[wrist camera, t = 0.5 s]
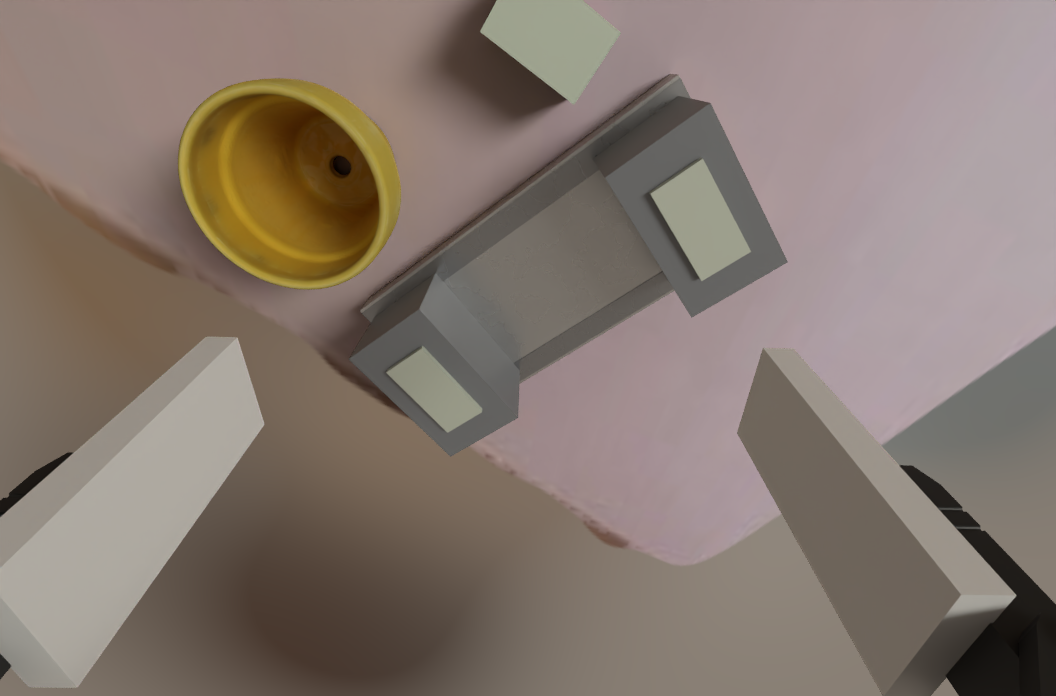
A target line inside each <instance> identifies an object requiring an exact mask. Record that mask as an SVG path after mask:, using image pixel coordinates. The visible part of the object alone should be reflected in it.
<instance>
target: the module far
mask: <svg viewBox="0 0 1056 696" xmlns="http://www.w3.org/2000/svg"><path fill="white" fill-rule="evenodd" d="M349 360H350V361H351V362H352V363H353V364H354V365H355V366H356V367H357V368H358V369H359V370H360V371H361V372H362V373H363V374H365V375H366V376H367V377H368V378H369V379H370V380H371V381H372V382H373V383H374V384H375V385H376V386H377V387H378V388H379V389H380V390H381V391H382V392H383V393H384V394H385V395H387V396H388V397H389V398H390V399H391V400H392V401H393V402H394V403H395V404H396V405H397V406H398V407H399V408H400V409H401V410H402V411H403V412H404V413H405V414H406V415H407V416H409V417H410V418H411V419H412V420H413V421H414V422H415V423H416V424H417V425H418V426H419V427H420V428H421V429H422V430H423V431H424V432H425V433H426V434H427V435H429V437H431V438H432V439H433V440H434V441H435V442H436V443H437V444H438V445H439V446H440V447H441V448H442V449H443V450H444V451H445V452H446V453H447V454H448V455H450V456H452V455H454V454H456V453H458V452H459V451H461V450H463V449H464V448H466V447H468V446H470V445H471V444H473V443H475V442H477V441H478V440H480V439H482V438H484V437H485V436H487V435H489V434H491V433H492V432H494V431H496V430H497V429H499V428H501V427H503V426H504V425H506V424H508V423H510V422H511V421H513V420H515V419H517V418H518V405H519V379H520V370H519V369H518V368H517V367H516V366H515V365H514V363H513V362H512V361H511V360H510V358H509V357H508V356H507V355H506V354H505V353H504V351H503V350H502V349H501V348H500V347H499V346H498V344H497V343H496V342H495V341H494V340H493V339H492V337H491V336H490V335H489V334H488V333H487V332H486V330H485V329H484V328H483V327H482V326H481V325H480V324H479V322H478V321H477V320H476V319H475V318H474V317H473V315H472V314H471V313H470V312H469V311H468V310H467V308H466V307H465V306H464V305H463V304H462V303H461V301H460V300H459V299H458V298H457V297H456V296H455V294H454V293H453V292H452V291H451V290H450V289H449V287H448V286H447V285H446V284H445V283H444V282H443V281H442V280H441V279H440V278H439V276H438V275H437V274H436V273H435V274H434V275H432V276H431V277H429V278H428V279H427V280H425V281H424V282H423V283H421V284H420V285H418V286H417V287H416V288H414V289H413V290H412V291H410V292H409V293H407V294H406V295H405V296H403V297H402V298H401V299H399V300H398V301H396V302H395V303H394V304H392V305H391V306H390V307H388V308H387V309H385V310H384V311H383V312H381V313H380V314H379V315H377V316H376V317H374V319H373V320H372V322H371V324H370V325H369V327H368V329H367V330H366V332H365V333H364V335H363V337H362V338H361V340H360V341H359V343H358V345H357V346H356V348H355V350H354V351H353V353H352V354H351V356H350V358H349Z"/></svg>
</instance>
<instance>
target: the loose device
mask: <svg viewBox="0 0 1056 696" xmlns="http://www.w3.org/2000/svg"><path fill="white" fill-rule="evenodd" d="M480 32H481V33H482V34H483V35H485V36H486V37H487V38H489V39H490V40H491V41H492V42H494V43H495V44H496V45H498V46H499V47H500V48H501V49H503V50H504V51H505V52H507V53H508V54H509V55H510V56H512V57H513V58H514V59H516V60H517V61H518V62H519V63H521V64H522V65H523V66H525V67H526V68H527V69H528V70H530V71H531V72H532V73H534V74H535V75H536V76H537V77H539V78H540V79H541V80H543V81H544V82H545V83H546V84H548V85H549V86H550V87H552V88H553V89H554V90H555V91H557V92H558V93H559V94H561V95H562V96H563V97H564V98H566V99H567V100H568V101H570V102H571V103H572V104H573V105H574V104H575V103H576V101H577V99H578V98H579V96H580V95H581V93H582V92H583V90H584V89H585V87H586V86H587V84H588V83H589V81H590V80H591V78H592V77H593V75H594V73H595V72H596V70H597V69H598V67H599V66H600V64H601V63H602V61H603V60H604V58H605V57H606V55H607V54H608V52H609V50H610V49H611V47H612V46H613V44H614V43H615V41H616V40H617V38H618V37H619V35H620V34H621V33H620V32H619V31H618V30H617V29H616V28H614V27H613V26H612V25H611V24H610V23H609V22H607V21H606V20H605V19H604V18H603V17H601V16H600V15H599V14H598V13H597V12H596V11H594V10H593V9H592V8H591V7H590V6H589V5H587V4H586V3H585V2H584V1H583V0H497V1H496V3H495V4H494V6H493V8H492V10H491V12H490V14H489V16H488V18H487V19H486V21H485V23H484V25H483V27H482V29H481V31H480Z"/></svg>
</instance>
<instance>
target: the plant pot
mask: <svg viewBox="0 0 1056 696" xmlns="http://www.w3.org/2000/svg"><path fill="white" fill-rule="evenodd" d="M337 156H342V157H344V158H346V159H347V160H348V161H349V163H350V165H351V171H350V173H349V174H347V175H341V174H339V173H337V172H336V171H335V169H334V167H333V161H334V159H335V157H337ZM178 173H179V179H180V185H181V189H182V192H183V195H184V198H185V201H186V203H187V205H188V208H189V210H190V212H191V214H192V216H193V218H194V219H195V221H196V223H197V224H198V226H199V227H200V229H201V230H202V232H203V233H204V234H205V236H206V237H207V238H208V239H209V241H210V242H211V243H212V244H213V245H214V246H215V247H216V248H217V249H218V250H219V251H220V252H221V253H222V254H223V255H224V256H225V257H227V258H228V259H229V260H230V261H231V262H233V263H234V264H235V265H237V266H238V267H240V268H241V269H243V270H244V271H246V272H248V273H249V274H251V275H253V276H255V277H257V278H259V279H262V280H264V281H266V282H269V283H272V284H275V285H279V286H283V287H288V288H294V289H322V288H328V287H332V286H335V285H338V284H341V283H343V282H345V281H348V280H350V279H351V278H353V277H355V276H357V275H358V274H359V273H361V272H362V271H363V270H364V269H365V268H366V267H367V266H369V264H370V263H371V262H372V261H373V260H374V259H375V257H376V256H377V255H378V254H379V252H380V251H381V250H382V248H383V247H384V245H385V244H386V242H387V240H388V239H389V237H390V235H391V233H392V231H393V229H394V227H395V225H396V222H397V218H398V215H399V210H400V203H401V186H400V179H399V174H398V170H397V166H396V163H395V160H394V155H393V152H392V149H391V146H390V144H389V142H388V140H387V138H386V136H385V135H384V133H383V132H382V131H381V129H380V128H379V127H378V126H377V125H376V124H375V123H374V122H373V121H372V120H371V119H370V118H368V117H367V116H366V115H365V114H364V113H363V112H362V111H361V110H360V109H359V108H358V107H357V106H355V105H354V104H353V103H351V102H350V101H349V100H347V99H346V98H344V97H343V96H341V95H339V94H338V93H336V92H334V91H332V90H330V89H328V88H326V87H323V86H321V85H318V84H315V83H311V82H307V81H303V80H296V79H260V80H253V81H246V82H242V83H238V84H234V85H231V86H228V87H226V88H224V89H222V90H219V91H218V92H216V93H214V94H213V95H211V96H210V97H209V98H207V99H206V100H205V101H204V102H203V103H201V104H200V105H199V107H198V108H197V109H196V110H195V111H194V113H193V114H192V115H191V117H190V119H189V120H188V122H187V124H186V126H185V128H184V131H183V134H182V137H181V140H180V145H179V153H178Z"/></svg>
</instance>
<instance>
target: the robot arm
mask: <svg viewBox="0 0 1056 696" xmlns="http://www.w3.org/2000/svg"><path fill="white" fill-rule="evenodd" d="M263 426H264V421H263V418H262V415H261V412H260V409H259V405H258V402H257V399H256V396H255V392H254V389H253V386H252V383H251V379H250V376H249V373H248V370H247V367H246V363H245V360H244V357H243V354H242V351H241V348H240V345H239V341H238V338H237V337H205V338H204V339H203V340H202V341H201V342H200V343H198V345H196V346H195V347H194V348H193V349H192V350H191V351H190V352H188V353H187V354H186V355H185V356H184V357H183V358H181V359H180V360H179V361H178V362H177V363H176V364H175V365H173V366H172V367H171V368H170V369H169V370H168V371H167V372H165V373H164V374H163V375H162V376H161V377H160V378H159V379H157V380H156V381H155V382H154V383H153V384H152V385H151V386H149V387H148V388H147V389H146V390H145V391H144V392H143V393H142V394H140V395H139V396H138V397H137V398H136V399H135V400H133V401H132V402H131V403H130V404H129V405H128V406H127V407H125V408H124V409H123V410H122V411H121V412H120V413H119V414H118V415H116V416H115V417H114V418H113V419H112V420H111V421H110V422H109V423H107V424H106V425H105V426H104V427H103V428H102V429H101V430H99V431H98V432H97V433H96V434H95V435H94V436H92V437H91V438H90V439H89V440H88V441H87V442H86V443H84V444H83V445H82V446H81V447H80V448H79V449H78V450H76V451H75V452H74V453H66V454H65V455H63V456H61V457H60V458H58V459H56V460H54V461H52V462H50V463H49V464H47V465H45V466H44V467H42V468H40V469H38V470H36V471H35V472H34V473H32V474H31V475H30V476H29V477H28V478H27V479H25V480H24V481H23V482H22V483H21V484H19V485H18V486H17V487H16V488H15V489H13V490H12V491H11V492H10V493H9V497H8V498H3V499H2V500H0V679H1V678H2V677H3V676H4V674H5V673H6V672H7V671H8V669H9V668H10V667H11V669H12V670H13V671H14V672H15V673H16V674H17V675H18V676H19V677H20V678H21V679H22V680H23V681H24V682H25V683H26V685H27V686H28V687H55V688H57V687H58V688H77V687H78V686H79V684H80V683H81V682H82V680H83V679H84V677H85V676H86V675H87V673H88V672H89V670H90V669H91V668H92V666H93V665H94V663H95V662H96V660H97V659H98V658H99V656H100V655H101V653H102V652H103V651H104V649H105V648H106V646H107V645H108V644H109V642H110V641H111V639H112V638H113V637H114V635H115V634H116V632H117V631H118V629H119V628H120V627H121V625H122V623H123V622H124V621H125V619H126V618H127V617H128V616H129V614H130V613H131V611H132V610H133V608H134V607H135V606H136V604H137V603H138V601H139V600H140V599H141V597H142V596H143V594H144V593H145V592H146V590H147V589H148V587H149V586H150V585H151V583H152V582H153V580H154V579H155V578H156V576H157V575H158V573H159V572H160V571H161V569H162V568H163V566H164V565H165V563H166V562H167V560H168V559H169V558H170V557H171V555H172V554H173V552H174V551H175V549H176V548H177V547H178V545H179V544H180V542H181V541H182V540H183V538H184V537H185V535H186V534H187V533H188V531H189V530H190V528H191V527H192V526H193V524H194V522H195V521H196V520H197V518H198V517H199V516H200V514H201V513H202V512H203V510H204V509H205V507H206V506H207V505H208V503H209V502H210V500H211V499H212V497H213V496H214V495H215V493H216V492H217V490H218V489H219V488H220V486H221V485H222V483H223V482H224V481H225V479H226V478H227V476H228V475H229V474H230V472H231V471H232V469H233V468H234V466H235V465H236V464H237V462H238V461H239V460H240V458H241V457H242V455H243V454H244V452H245V451H246V450H247V448H248V447H249V446H250V444H251V443H252V441H253V440H254V438H255V437H256V436H257V434H258V433H259V431H260V430H261V428H262V427H263ZM737 434H738V436H739V437H740V439H741V441H742V443H743V445H744V446H745V448H746V450H747V452H748V454H749V455H750V457H751V459H752V461H753V463H754V464H755V466H756V468H757V470H758V472H759V473H760V475H761V477H762V479H763V481H764V482H765V484H766V486H767V488H768V490H769V491H770V493H771V495H772V497H773V499H774V500H775V502H776V504H777V506H778V508H779V510H780V511H781V513H782V515H783V517H784V519H785V520H786V522H787V524H788V526H789V527H790V529H791V531H792V533H793V535H794V537H795V538H796V540H797V542H798V544H799V546H800V547H801V549H802V551H803V553H804V554H805V556H806V558H807V560H808V562H809V564H810V565H811V567H812V569H813V571H814V573H815V574H816V576H817V578H818V580H819V582H820V583H821V585H822V587H823V589H824V590H825V592H826V594H827V596H828V598H829V599H830V602H831V603H832V605H833V607H834V608H835V610H836V612H837V614H838V616H839V618H840V620H841V621H842V623H843V625H844V627H845V629H846V630H847V632H848V634H849V636H850V637H851V639H852V641H853V643H854V645H855V647H856V648H857V650H858V652H859V654H860V656H861V657H862V659H863V661H864V663H865V665H866V666H867V668H868V670H869V672H870V674H871V675H872V677H873V679H874V681H875V683H876V684H877V686H878V688H879V690H880V692H881V694H882V695H883V696H931V695H932V694H933V692H934V691H935V690H936V689H937V688H938V687H939V686H940V684H941V683H942V682H943V681H944V680H945V679H946V677H947V679H948V680H949V682H950V683H951V684H952V686H953V687H954V689H955V690H956V692H957V693H958V695H959V696H1056V604H1055V603H1054V602H1053V601H1052V600H1051V599H1050V598H1049V597H1048V596H1047V595H1046V594H1045V593H1044V592H1043V591H1042V590H1041V589H1040V588H1039V587H1038V585H1036V583H1034V581H1033V580H1032V579H1031V578H1030V577H1029V576H1028V575H1027V574H1026V573H1025V572H1024V571H1023V570H1022V569H1021V568H1020V567H1019V566H1018V565H1017V564H1016V563H1015V562H1014V561H1013V559H1012V558H1011V557H1010V556H1009V555H1008V554H1007V553H1006V552H1005V551H1004V550H1003V549H1002V548H1001V547H1000V546H999V545H998V544H997V543H996V542H995V541H994V540H993V539H992V538H991V537H990V536H989V534H988V533H987V532H986V531H981V529H980V525H979V524H978V523H977V522H976V521H975V520H974V519H973V518H972V517H971V516H970V515H969V514H968V513H967V512H963V510H962V506H961V505H960V504H959V503H958V502H957V501H956V500H955V499H954V498H953V497H952V496H951V495H950V494H949V493H948V492H947V491H946V490H945V489H944V488H943V487H942V486H941V485H940V484H939V483H937V482H936V481H934V480H933V479H931V478H930V477H928V476H927V475H925V474H924V473H922V472H921V471H920V470H918V469H917V468H915V467H914V466H903V465H898V464H897V463H896V462H895V461H894V459H893V458H892V457H891V456H890V455H889V454H888V453H887V452H886V451H885V449H884V448H883V447H882V446H881V445H880V444H879V443H878V442H877V441H876V439H875V438H874V437H873V436H872V435H871V434H870V433H869V432H868V431H867V430H866V428H865V427H864V426H863V425H862V424H861V423H860V422H859V421H858V420H857V418H856V417H855V416H854V415H853V414H852V413H851V412H850V411H849V410H848V409H847V407H846V406H845V405H844V404H843V403H842V402H841V401H840V400H839V399H838V397H837V396H836V395H835V394H834V393H833V392H832V391H831V390H830V389H829V388H828V386H827V385H826V384H825V383H824V382H823V381H822V380H821V379H820V378H819V376H818V375H817V374H816V373H815V372H814V371H813V370H812V369H811V368H810V367H809V365H808V364H807V363H806V362H805V361H804V360H803V359H802V358H801V357H800V355H799V354H798V353H797V352H796V351H795V350H794V349H785V348H763V350H762V353H761V357H760V360H759V363H758V366H757V370H756V373H755V376H754V379H753V383H752V386H751V389H750V392H749V396H748V399H747V402H746V406H745V409H744V412H743V415H742V419H741V422H740V425H739V428H738V432H737Z"/></svg>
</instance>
